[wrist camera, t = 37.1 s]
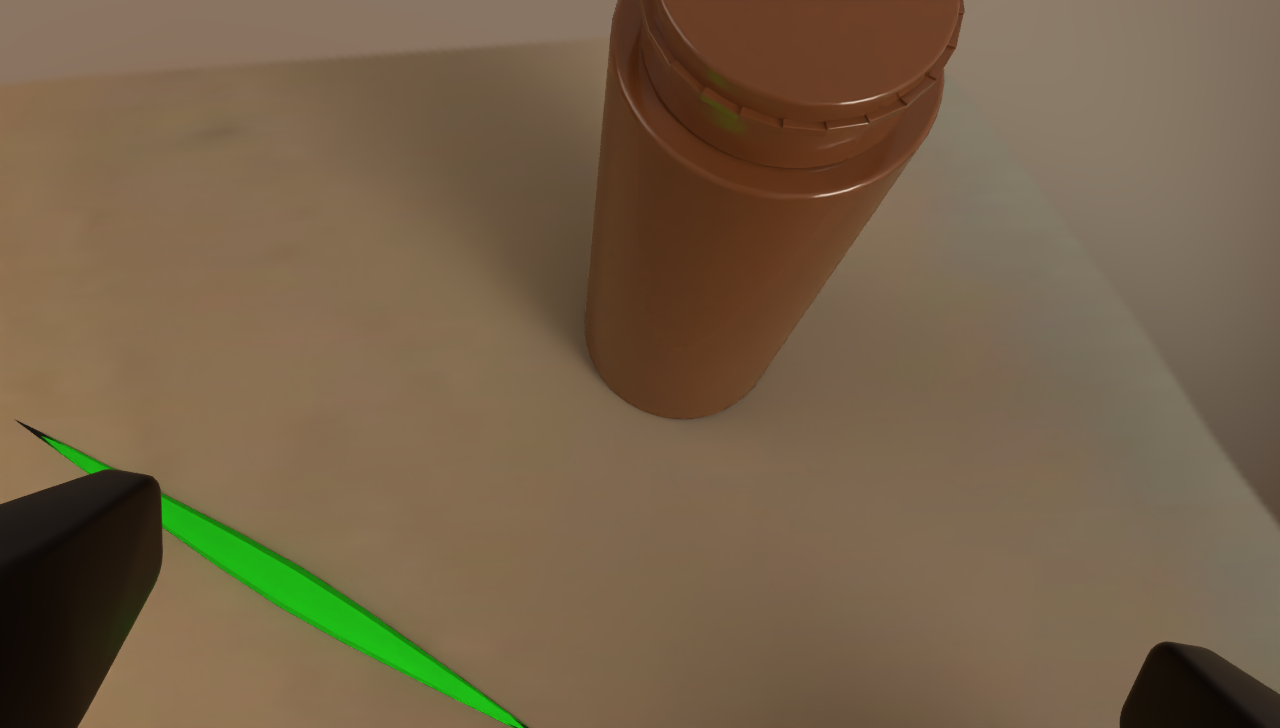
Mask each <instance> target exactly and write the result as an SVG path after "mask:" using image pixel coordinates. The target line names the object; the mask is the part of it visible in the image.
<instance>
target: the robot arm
mask: <svg viewBox="0 0 1280 728" xmlns="http://www.w3.org/2000/svg"><path fill="white" fill-rule="evenodd" d="M162 556H163V546H162V503H161V489H160V486H159V483H158V482H157V480H156V479H155V478H154V477H153V476H150V475H145V474H139V473H133V472H127V471H121V470H115V469H105V470H101V471H98V472H95V473H92V474H89V475H86V476H83V477H80V478H77V479H74V480H71V481H68V482H66V483H63V484H60V485H57V486H54V487H51V488H48V489H45V490H42V491H39V492H36V493H33V494H30V495H27V496H24V497H21V498H18V499H15V500H12V501H9V502H6V503H3V504H0V728H77V727H78V726H79V724H80V722H81V720H82V719H83V717H84V715H85V713H86V712H87V710H88V708H89V706H90V704H91V703H92V701H93V699H94V697H95V695H96V693H97V691H98V689H99V688H100V686H101V684H102V682H103V680H104V678H105V676H106V675H107V673H108V671H109V669H110V667H111V665H112V663H113V662H114V660H115V658H116V656H117V654H118V652H119V650H120V649H121V647H122V645H123V643H124V641H125V639H126V637H127V636H128V634H129V632H130V630H131V628H132V626H133V624H134V622H135V621H136V619H137V617H138V615H139V613H140V611H141V609H142V608H143V606H144V604H145V602H146V600H147V598H148V596H149V595H150V593H151V591H152V589H153V587H154V585H155V583H156V581H157V578H158V576H159V573H160V569H161V565H162ZM1120 728H1280V694H1278V693H1277V692H1275V691H1273V690H1272V689H1270V688H1269V687H1267V686H1266V685H1264V684H1263V683H1261V682H1259V681H1258V680H1256V679H1255V678H1253V677H1252V676H1250V675H1249V674H1247V673H1245V672H1244V671H1242V670H1241V669H1239V668H1238V667H1236V666H1235V665H1233V664H1231V663H1230V662H1228V661H1227V660H1225V659H1224V658H1222V657H1220V656H1219V655H1217V654H1216V653H1214V652H1213V651H1211V650H1209V649H1206V648H1203V647H1199V646H1193V645H1186V644H1180V643H1174V642H1162V643H1159V644H1157V645H1155V646H1154V647H1153V648H1152V649H1151V650H1150V652H1149V654H1148V655H1147V657H1146V660H1145V662H1144V664H1143V666H1142V668H1141V670H1140V672H1139V674H1138V676H1137V678H1136V680H1135V682H1134V685H1133V687H1132V689H1131V691H1130V693H1129V695H1128V697H1127V699H1126V701H1125V703H1124V705H1123V708H1122V711H1121V716H1120Z"/></svg>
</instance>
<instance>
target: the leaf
mask: <svg viewBox="0 0 1280 728" xmlns="http://www.w3.org/2000/svg"><path fill="white" fill-rule="evenodd" d="M14 420H15V419H14ZM16 421H17V420H16ZM17 422H18V423H20V424H21V425H23V426H24V427H25V428H27V429H28V430H29V431H31V432H32V433H33V434H35V435H36V436H37V437H39V438H40V439H42V440H43V441H44V442H46V443H47V444H48V445H50V446H51V447H53V448H54V449H55V450H57V451H58V452H59V453H61V454H62V455H63V456H65V457H66V458H68V459H69V460H70V461H72V462H73V463H74V464H76V465H77V466H79V467H80V468H81V469H83V470H84V471H85V472H87V473H88V474H92V473H95V472H98V471H101V470H105V469H113V468H111V467H109V466H107V465H105V464H103V463H101V462H99V461H97V460H95V459H93V458H91V457H89V456H87V455H85V454H83V453H81V452H79V451H77V450H75V449H73V448H71V447H69V446H67V445H65V444H63V443H61V442H59V441H57V440H55V439H53V438H51V437H49V436H47V435H45V434H43V433H41V432H39V431H37V430H35V429H33V428H31V427H29V426H27V425H25V424H23V423H21V422H19V421H17ZM161 503H162V527H163V528H164V529H166V530H167V531H169V532H170V533H171V534H173V535H174V536H176V537H177V538H178V539H180V540H181V541H183V542H184V543H185V544H187V545H188V546H190V547H191V548H192V549H194V550H195V551H197V552H198V553H199V554H201V555H202V556H204V557H205V558H206V559H208V560H209V561H211V562H212V563H213V564H215V565H216V566H218V567H219V568H221V569H222V570H224V571H225V572H227V573H229V574H230V575H232V576H233V577H235V578H236V579H238V580H239V581H241V582H242V583H244V584H245V585H247V586H248V587H250V588H251V589H253V590H254V591H256V592H257V593H259V594H260V595H262V596H263V597H265V598H266V599H268V600H269V601H271V602H272V603H274V604H275V605H277V606H279V607H280V608H282V609H284V610H286V611H288V612H289V613H291V614H293V615H295V616H296V617H298V618H300V619H302V620H304V621H305V622H307V623H309V624H311V625H313V626H314V627H316V628H318V629H320V630H321V631H323V632H325V633H327V634H329V635H330V636H332V637H334V638H336V639H338V640H339V641H341V642H343V643H345V644H347V645H349V646H351V647H353V648H355V649H357V650H359V651H361V652H363V653H365V654H367V655H369V656H370V657H372V658H374V659H376V660H378V661H380V662H382V663H384V664H386V665H388V666H390V667H392V668H394V669H396V670H398V671H400V672H402V673H404V674H406V675H408V676H410V677H412V678H414V679H416V680H418V681H420V682H422V683H424V684H426V685H428V686H430V687H431V688H433V689H435V690H437V691H439V692H441V693H443V694H445V695H447V696H449V697H452V698H454V699H456V700H458V701H460V702H462V703H464V704H466V705H468V706H470V707H472V708H474V709H476V710H478V711H480V712H482V713H484V714H486V715H488V716H490V717H492V718H494V719H496V720H498V721H500V722H502V723H504V724H506V725H508V726H511V727H513V728H528V727H527V726H526V725H524V724H523V723H522V722H520V721H519V720H518V719H516V718H515V717H514V716H512V715H511V714H509V713H508V712H507V711H505V710H504V709H503V708H501V707H500V706H499V705H497V704H496V703H494V702H493V701H492V700H490V699H489V698H488V697H486V696H485V695H484V694H482V693H481V692H480V691H478V690H477V689H475V688H474V687H473V686H471V685H470V684H469V683H467V682H466V681H465V680H463V679H462V678H460V677H459V676H458V675H456V674H455V673H454V672H452V671H451V670H449V669H448V668H447V667H445V666H444V665H442V664H441V663H440V662H438V661H437V660H435V659H434V658H433V657H431V656H430V655H428V654H427V653H426V652H424V651H423V650H421V649H420V648H419V647H417V646H416V645H414V644H413V643H412V642H410V641H409V640H408V639H406V638H405V637H403V636H402V635H401V634H399V633H398V632H396V631H395V630H394V629H392V628H391V627H389V626H388V625H387V624H385V623H384V622H382V621H381V620H380V619H378V618H377V617H375V616H374V615H373V614H371V613H370V612H368V611H367V610H366V609H364V608H363V607H361V606H360V605H358V604H356V603H355V602H353V601H352V600H350V599H349V598H347V597H346V596H344V595H343V594H341V593H340V592H338V591H337V590H335V589H334V588H332V587H331V586H329V585H328V584H326V583H324V582H323V581H321V580H320V579H318V578H317V577H315V576H314V575H312V574H311V573H309V572H308V571H306V570H305V569H303V568H301V567H300V566H298V565H296V564H294V563H292V562H291V561H289V560H287V559H285V558H283V557H282V556H280V555H278V554H276V553H274V552H273V551H271V550H269V549H267V548H265V547H264V546H262V545H260V544H258V543H256V542H255V541H253V540H251V539H249V538H247V537H246V536H244V535H242V534H240V533H238V532H237V531H235V530H233V529H231V528H229V527H227V526H225V525H223V524H221V523H219V522H217V521H215V520H213V519H211V518H209V517H207V516H205V515H203V514H202V513H200V512H198V511H196V510H194V509H192V508H190V507H188V506H186V505H184V504H182V503H180V502H178V501H176V500H174V499H172V498H170V497H168V496H166V495H164V494H162V493H161Z"/></svg>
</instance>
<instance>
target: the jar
mask: <svg viewBox="0 0 1280 728" xmlns="http://www.w3.org/2000/svg"><path fill="white" fill-rule="evenodd" d="M963 14H964V2H963V0H618V2H617V5H616V8H615V12H614V15H613V20H612V28H611V35H610V46H609V57H608V68H607V79H606V90H605V101H604V112H603V123H602V134H601V145H600V156H599V167H598V178H597V189H596V200H595V211H594V222H593V233H592V244H591V255H590V266H589V277H588V288H587V299H586V310H585V321H584V323H585V338H586V345H587V348H588V351H589V355H590V357H591V360H592V362H593V364H594V366H595V368H596V370H597V371H598V373H599V375H600V376H601V378H602V379H603V380H604V381H605V383H606V384H607V385H608V386H609V387H610V388H611V389H612V390H613V391H614V392H615V393H616V394H617V395H618V396H619V397H621V398H622V399H624V400H625V401H626V402H628V403H629V404H631V405H633V406H635V407H637V408H638V409H640V410H643V411H645V412H648V413H650V414H653V415H657V416H661V417H666V418H675V419H692V418H699V417H704V416H708V415H712V414H715V413H717V412H720V411H722V410H725V409H727V408H728V407H730V406H732V405H733V404H735V403H737V402H738V401H739V400H740V399H742V398H743V397H744V396H745V395H747V393H748V392H749V391H750V390H751V389H752V388H753V387H754V386H755V385H756V383H757V382H758V380H759V379H760V378H761V376H762V375H763V373H764V372H765V370H766V369H767V367H768V366H769V364H770V363H771V362H772V360H773V359H774V357H775V356H776V354H777V353H778V351H779V350H780V349H781V347H782V346H783V344H784V343H785V341H786V340H787V338H788V337H789V335H790V334H791V333H792V331H793V330H794V328H795V327H796V325H797V324H798V322H799V321H800V319H801V318H802V317H803V315H804V314H805V312H806V311H807V309H808V308H809V306H810V305H811V304H812V302H813V301H814V299H815V298H816V296H817V295H818V293H819V292H820V290H821V289H822V288H823V286H824V285H825V283H826V282H827V280H828V279H829V277H830V276H831V274H832V273H833V272H834V270H835V269H836V267H837V266H838V264H839V263H840V261H841V260H842V259H843V257H844V256H845V254H846V253H847V251H848V250H849V248H850V247H851V245H852V244H853V243H854V241H855V240H856V238H857V237H858V235H859V234H860V232H861V231H862V229H863V228H864V227H865V225H866V224H867V222H868V221H869V219H870V218H871V216H872V215H873V214H874V212H875V211H876V209H877V208H878V206H879V205H880V203H881V202H882V200H883V199H884V198H885V196H886V195H887V193H888V192H889V190H890V189H891V187H892V186H893V184H894V183H895V182H896V180H897V179H898V177H899V176H900V174H901V173H902V171H903V170H904V169H905V167H906V166H907V164H908V163H909V161H910V160H911V158H912V157H913V155H914V154H915V153H916V151H917V150H918V148H919V147H920V145H921V144H922V142H923V141H924V139H925V138H926V137H927V135H928V133H929V131H930V129H931V127H932V125H933V123H934V121H935V119H936V116H937V113H938V110H939V107H940V104H941V100H942V94H943V87H944V67H945V65H946V64H947V62H948V60H949V58H950V57H951V55H952V54H953V52H954V50H955V49H956V46H957V42H958V36H959V32H960V27H961V23H962V18H963Z"/></svg>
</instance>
